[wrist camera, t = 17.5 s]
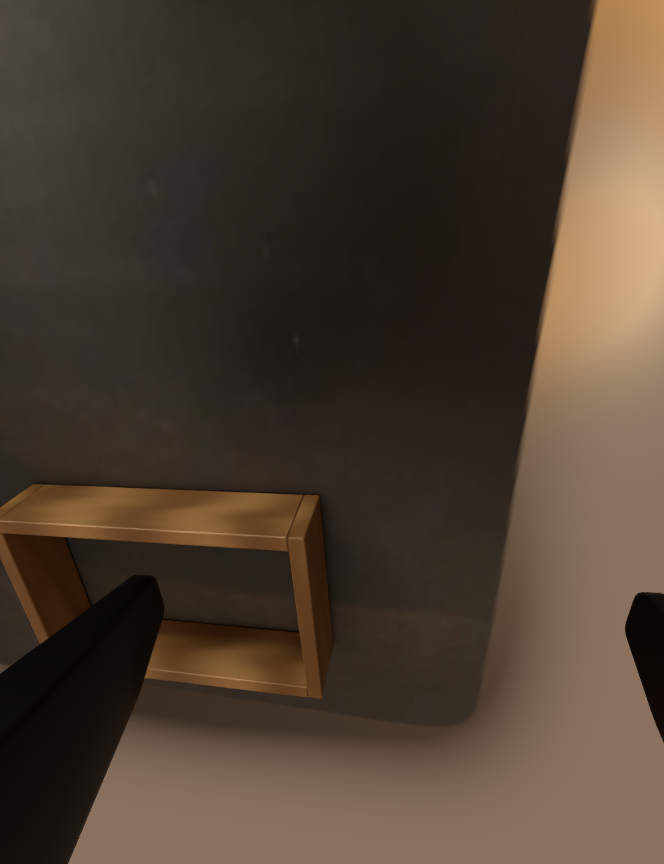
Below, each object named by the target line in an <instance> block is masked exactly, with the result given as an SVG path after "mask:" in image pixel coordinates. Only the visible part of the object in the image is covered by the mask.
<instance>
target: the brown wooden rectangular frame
mask: <svg viewBox="0 0 664 864" xmlns="http://www.w3.org/2000/svg"><path fill="white" fill-rule="evenodd" d="M65 537H69V538H85V539H101V540H117V541H133V542H149V543H165V544H180V545H196V546H212V547H228V548H244V549H260V550H276V551H288V550H289V556H290V564H291V571H292V579H293V586H294V594H295V602H296V609H297V617H298V624H299V632H300V633H298V632H287V631H277V630H266V629H256V628H245V627H235V626H224V625H214V624H203V623H193V622H182V621H172V620H162V623H161V626H160V629H159V633H158V636H157V639H156V642H155V646H154V649H153V652H152V655H151V659H150V662H149V665H148V668H147V672H146V675H145V678H152V679H160V680H168V681H177V682H185V683H193V684H202V685H210V686H218V687H226V688H235V689H243V690H251V691H260V692H268V693H276V694H284V695H293V696H301V697H311V698H319V699H322V697H323V692H324V688H325V683H326V678H327V673H328V668H329V663H330V658H331V653H332V648H333V638H332V627H331V616H330V605H329V594H328V583H327V572H326V561H325V550H324V539H323V528H322V518H321V507H320V497H319V495H295V494H270V493H245V492H220V491H195V490H170V489H146V488H121V487H96V486H71V485H44V484H33V485H31V486H30V487H28V488H27V489H26V490H24V491H23V492H21V493H20V494H19V495H17V496H16V497H14V498H13V499H12V500H10V501H9V502H8V503H6V504H5V505H3V506H2V507H1V508H0V558H1V561H2V563H3V565H4V567H5V569H6V571H7V574H8V576H9V578H10V580H11V582H12V584H13V587H14V589H15V591H16V593H17V595H18V597H19V600H20V602H21V604H22V606H23V608H24V610H25V613H26V615H27V617H28V619H29V621H30V624H31V626H32V628H33V630H34V632H35V634H36V637H37V639H38V641H39V643H40V644H41V643H42V642H44V641H45V640H47V639H48V638H49V637H51V636H52V635H53V634H55V633H56V632H57V631H59V630H60V629H61V628H63V627H64V626H65V625H67V624H68V623H69V622H71V621H72V620H73V619H75V618H76V617H77V616H79V615H80V614H82V613H83V612H84V611H86V610H87V609H88V608H90V607H91V606H90V603H89V600H88V598H87V595H86V592H85V590H84V587H83V584H82V582H81V579H80V577H79V574H78V571H77V569H76V566H75V563H74V561H73V558H72V555H71V553H70V550H69V548H68V545H67V542H66V540H65Z"/></svg>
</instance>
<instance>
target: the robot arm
mask: <svg viewBox="0 0 664 864" xmlns="http://www.w3.org/2000/svg"><path fill="white" fill-rule="evenodd" d="M163 616H164V603H163V599H162V596H161V592H160V589H159V586H158V582H157V580H156V578H155V577H154V576H151V575H134V576H132V577H130V578H129V579H127V580H126V581H125V582H123V583H122V584H121V585H119V586H118V587H117V588H115V589H114V590H112V591H111V592H110V593H108V594H107V595H106V596H104V597H103V598H102V599H100V600H99V601H98V602H96V603H95V604H94V605H92V606H91V607H90V608H88V609H87V610H86V611H84V612H83V613H82V614H80V615H79V616H77V617H76V618H75V619H73V620H72V621H71V622H69V623H68V624H67V625H65V626H64V627H63V628H61V629H60V630H59V631H57V632H56V633H55V634H53V635H52V636H51V637H49V638H48V639H47V640H45V641H44V642H42V643H41V644H40V645H38V646H37V647H36V648H34V649H33V650H32V651H30V652H29V653H28V654H26V655H25V656H24V657H22V658H21V659H20V660H18V661H17V662H16V663H14V664H13V665H12V666H10V667H9V668H8V669H6V670H5V671H3V672H2V673H1V674H0V864H68V862H69V860H70V858H71V855H72V853H73V851H74V848H75V846H76V844H77V841H78V839H79V836H80V834H81V832H82V829H83V827H84V825H85V822H86V820H87V817H88V815H89V813H90V810H91V808H92V805H93V803H94V801H95V798H96V796H97V794H98V791H99V789H100V787H101V784H102V782H103V779H104V777H105V775H106V772H107V770H108V768H109V765H110V763H111V760H112V758H113V756H114V753H115V751H116V749H117V746H118V744H119V741H120V739H121V737H122V734H123V732H124V730H125V727H126V725H127V722H128V720H129V718H130V715H131V713H132V711H133V708H134V706H135V703H136V701H137V698H138V696H139V693H140V690H141V687H142V684H143V681H144V678H145V675H146V672H147V668H148V665H149V662H150V659H151V655H152V652H153V649H154V646H155V642H156V639H157V636H158V633H159V629H160V626H161V623H162V620H163ZM625 632H626V637H627V640H628V643H629V646H630V649H631V652H632V655H633V658H634V661H635V664H636V667H637V670H638V673H639V676H640V679H641V682H642V685H643V688H644V691H645V694H646V697H647V700H648V703H649V706H650V709H651V712H652V715H653V718H654V720H655V723H656V726H657V728H658V730H659V733H660V735H661V737H662V740H663V742H664V594H662V593H648V592H641V593H638V594H637V595H636V596H635V598H634V600H633V603H632V606H631V610H630V612H629V615H628V618H627V621H626V625H625Z"/></svg>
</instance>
